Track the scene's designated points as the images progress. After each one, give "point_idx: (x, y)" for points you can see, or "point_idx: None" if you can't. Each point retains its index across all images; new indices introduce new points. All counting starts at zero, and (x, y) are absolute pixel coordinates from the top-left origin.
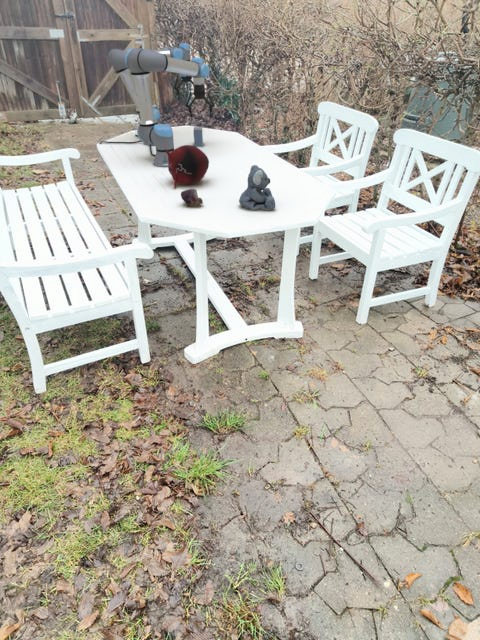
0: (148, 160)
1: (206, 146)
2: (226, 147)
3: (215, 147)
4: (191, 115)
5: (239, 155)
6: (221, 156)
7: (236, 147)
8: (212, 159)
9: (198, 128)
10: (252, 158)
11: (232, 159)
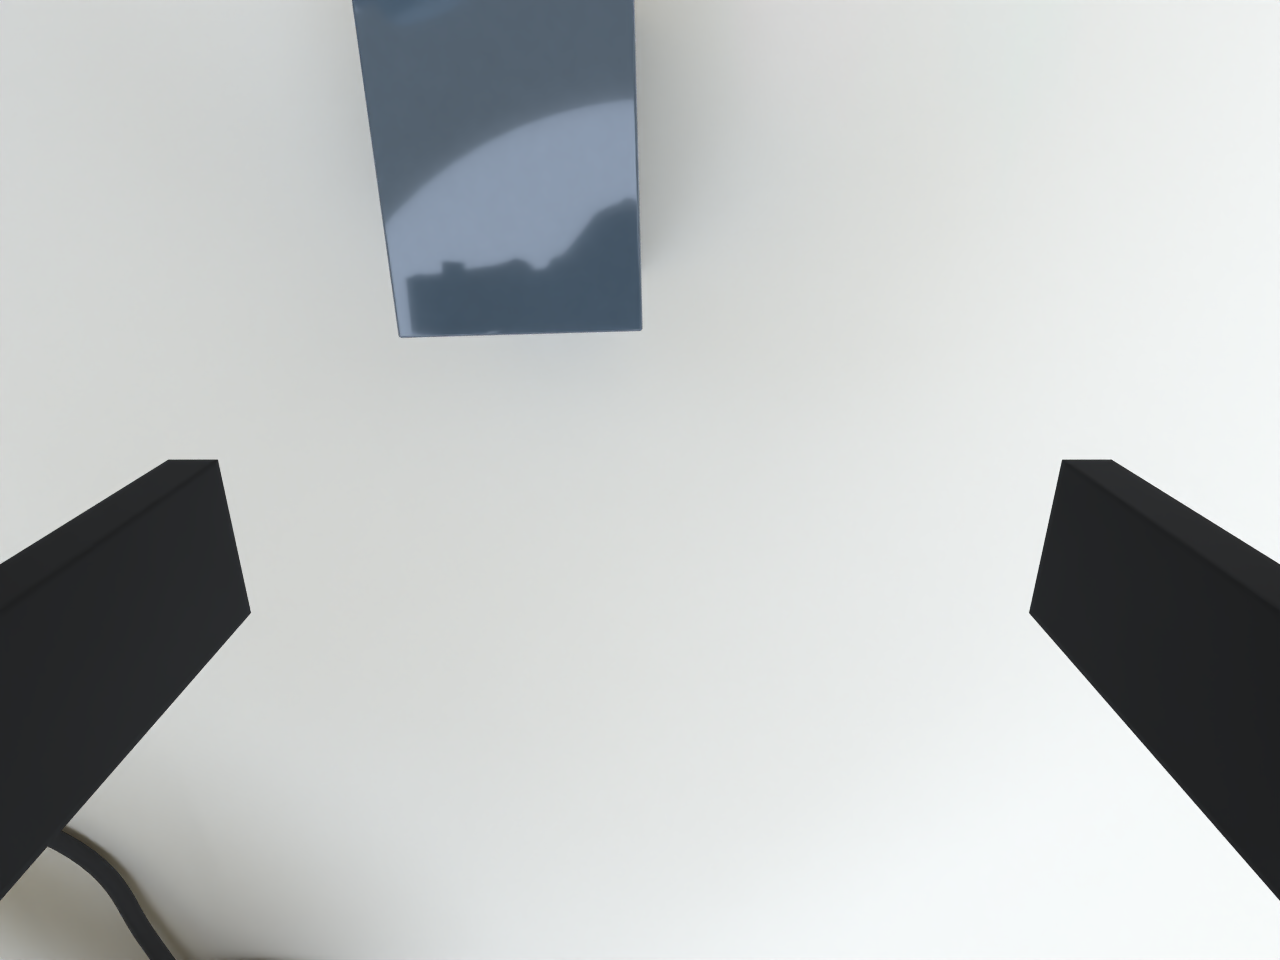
0: (15, 951)
1: (706, 289)
2: (1061, 380)
3: (868, 371)
4: (188, 671)
5: (1150, 805)
6: (907, 837)
7: (1234, 389)
8: (785, 937)
9: (523, 159)
10: (1269, 917)
11: (1022, 943)
